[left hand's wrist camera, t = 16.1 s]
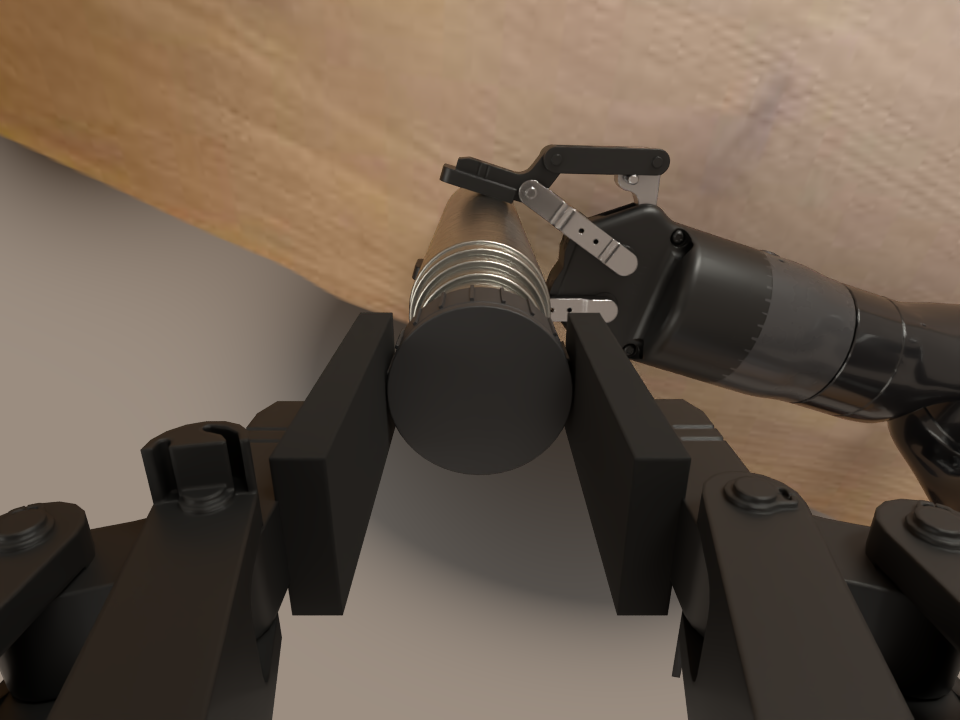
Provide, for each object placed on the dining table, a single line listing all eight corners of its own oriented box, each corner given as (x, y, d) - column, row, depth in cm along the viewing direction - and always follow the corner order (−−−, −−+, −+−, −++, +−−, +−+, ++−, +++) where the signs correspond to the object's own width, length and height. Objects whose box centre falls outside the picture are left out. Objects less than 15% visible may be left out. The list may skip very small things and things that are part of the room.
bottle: (435, 191, 36) (356, 313, 13) (508, 174, 35) (561, 269, 12) (452, 262, 37) (409, 486, 14) (522, 247, 37) (592, 452, 14)
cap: (447, 467, 15) (444, 505, 14) (360, 335, 14) (346, 360, 13) (593, 398, 15) (606, 430, 13) (516, 251, 13) (521, 267, 12)
